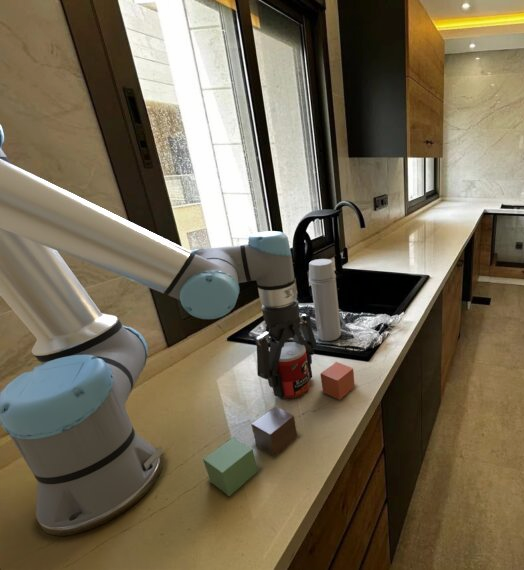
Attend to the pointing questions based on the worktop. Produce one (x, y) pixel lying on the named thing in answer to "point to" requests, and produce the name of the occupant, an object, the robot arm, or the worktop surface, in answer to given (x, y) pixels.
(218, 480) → the block sage
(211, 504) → the worktop surface
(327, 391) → the block terracotta
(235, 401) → the worktop surface
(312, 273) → the water bottle
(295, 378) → the canned food
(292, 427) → the block walnut
